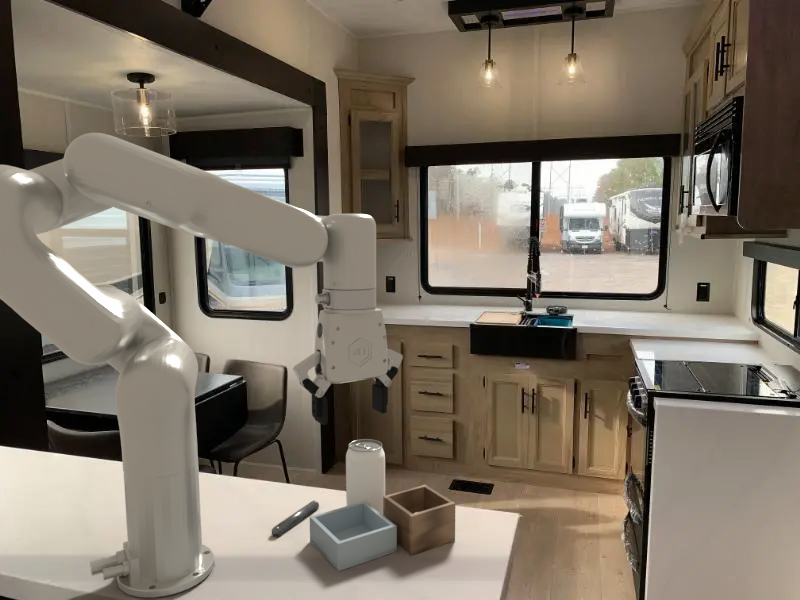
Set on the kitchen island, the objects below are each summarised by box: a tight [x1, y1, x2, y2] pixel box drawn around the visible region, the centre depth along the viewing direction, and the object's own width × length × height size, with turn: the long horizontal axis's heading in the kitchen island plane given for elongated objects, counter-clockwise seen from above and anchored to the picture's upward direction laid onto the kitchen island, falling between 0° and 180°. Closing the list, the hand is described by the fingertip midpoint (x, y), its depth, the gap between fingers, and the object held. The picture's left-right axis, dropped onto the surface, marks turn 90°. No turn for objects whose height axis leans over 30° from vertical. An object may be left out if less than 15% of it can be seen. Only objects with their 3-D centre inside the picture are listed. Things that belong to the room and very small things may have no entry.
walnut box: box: [383, 484, 456, 556], centre depth 94 cm, size 8×8×6 cm
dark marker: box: [271, 500, 320, 538], centre depth 99 cm, size 12×2×2 cm, turn 153°
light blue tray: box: [309, 501, 398, 572], centre depth 91 cm, size 10×10×4 cm
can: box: [345, 438, 386, 515], centre depth 101 cm, size 6×6×12 cm
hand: (350, 416), depth 89 cm, fingers open, 9 cm apart
